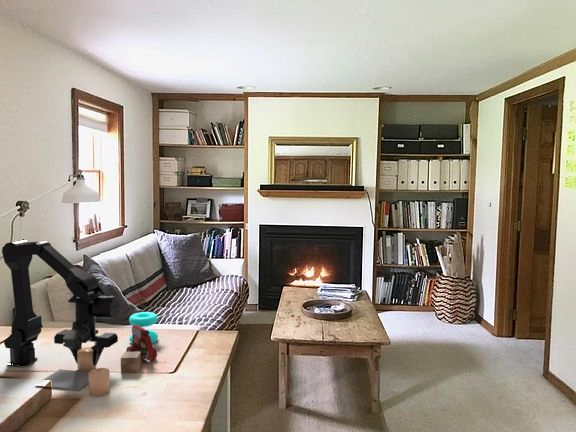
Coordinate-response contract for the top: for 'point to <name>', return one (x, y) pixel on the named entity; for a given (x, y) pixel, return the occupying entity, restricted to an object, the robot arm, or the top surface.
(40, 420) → the top surface
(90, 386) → the peach domed cap
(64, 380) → the slate board
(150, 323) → the donuts
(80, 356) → the peach domed cylinder
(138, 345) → the toy fire truck
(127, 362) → the walnut block
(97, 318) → the robot arm
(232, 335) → the top surface
